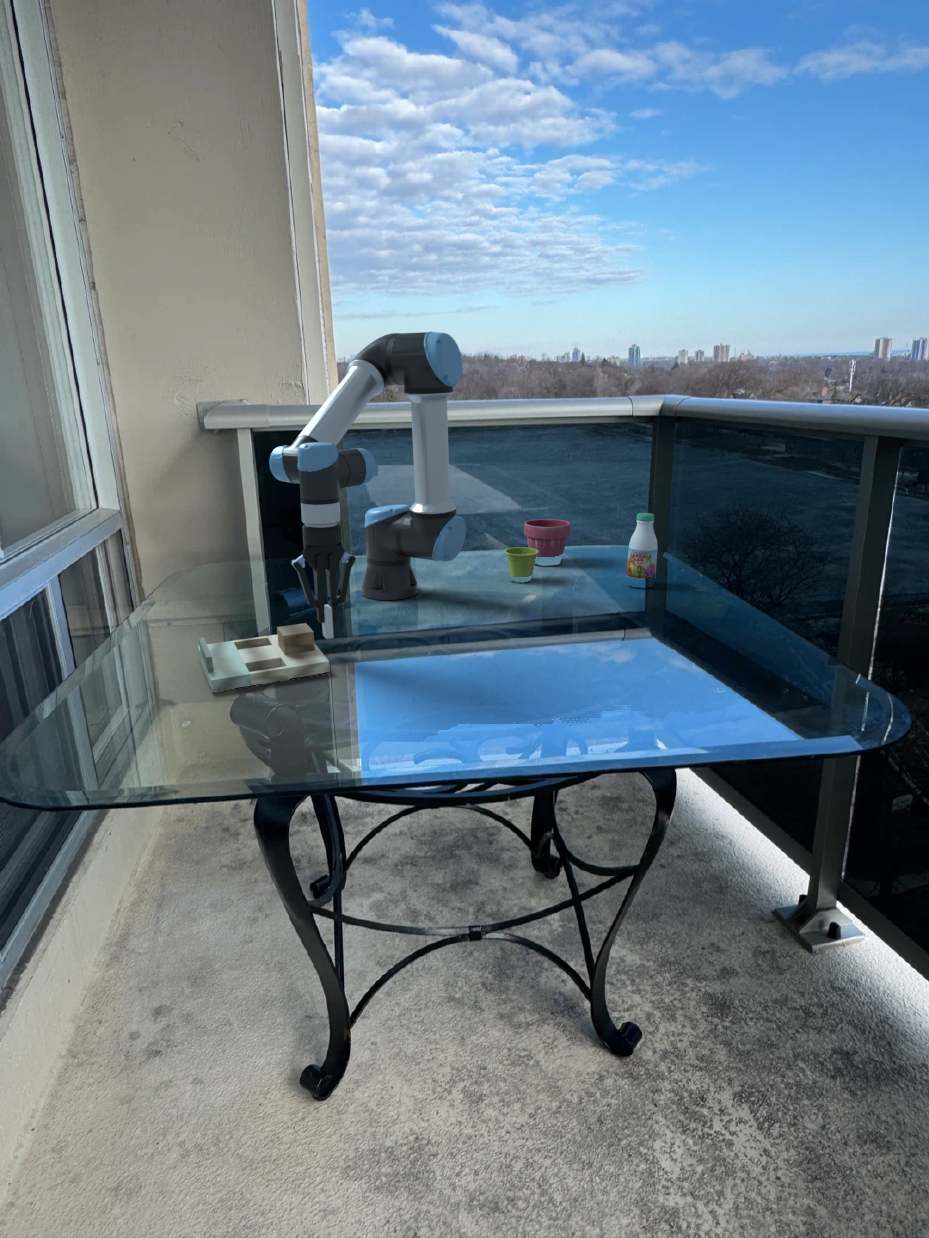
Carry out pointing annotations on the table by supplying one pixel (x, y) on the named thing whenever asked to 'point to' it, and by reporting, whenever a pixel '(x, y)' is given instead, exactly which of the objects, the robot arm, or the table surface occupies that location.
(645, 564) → the milk bottle
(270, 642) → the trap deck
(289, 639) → the block
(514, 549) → the plant pot
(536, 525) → the plant pot
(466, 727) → the table surface
